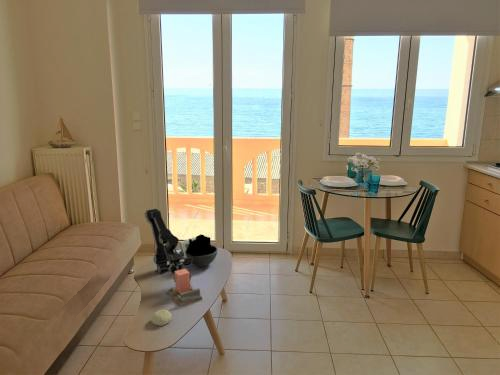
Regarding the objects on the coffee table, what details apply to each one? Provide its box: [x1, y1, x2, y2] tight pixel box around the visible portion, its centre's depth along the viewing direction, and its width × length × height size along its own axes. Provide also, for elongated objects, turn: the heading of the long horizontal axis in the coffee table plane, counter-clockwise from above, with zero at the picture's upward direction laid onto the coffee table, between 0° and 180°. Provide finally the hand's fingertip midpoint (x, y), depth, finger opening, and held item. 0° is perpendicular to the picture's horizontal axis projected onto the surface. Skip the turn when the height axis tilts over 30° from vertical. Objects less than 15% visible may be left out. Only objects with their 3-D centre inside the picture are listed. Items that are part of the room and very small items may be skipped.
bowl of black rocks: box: [185, 234, 218, 268], centre depth 237 cm, size 20×20×19 cm
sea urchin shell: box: [150, 309, 173, 326], centre depth 179 cm, size 9×8×8 cm
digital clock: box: [178, 236, 196, 259], centre depth 255 cm, size 16×9×11 cm, turn 122°
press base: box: [167, 284, 203, 307], centre depth 201 cm, size 18×12×6 cm, turn 31°
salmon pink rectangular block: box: [174, 268, 191, 294], centre depth 202 cm, size 6×6×11 cm
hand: (180, 279), depth 205 cm, fingers closed, pressing on salmon pink rectangular block
